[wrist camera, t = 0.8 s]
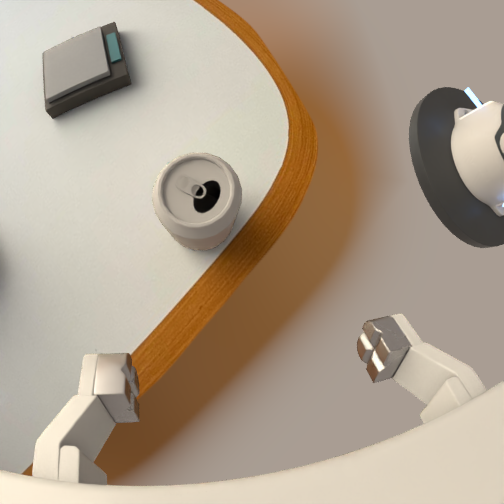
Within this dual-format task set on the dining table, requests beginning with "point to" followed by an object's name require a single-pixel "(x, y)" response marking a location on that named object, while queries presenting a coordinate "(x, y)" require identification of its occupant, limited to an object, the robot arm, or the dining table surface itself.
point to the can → (197, 200)
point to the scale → (83, 69)
